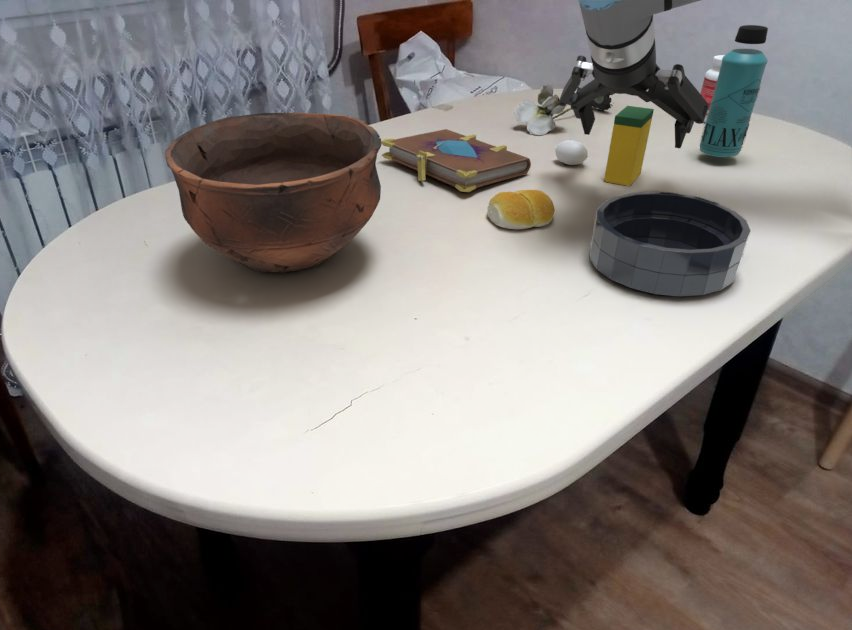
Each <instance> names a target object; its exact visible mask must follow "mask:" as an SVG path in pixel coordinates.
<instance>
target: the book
mask: <svg viewBox="0 0 852 630" xmlns="http://www.w3.org/2000/svg"><path fill="white" fill-rule="evenodd" d="M381 146H384V147H387V148H389V150H388V151H385V152H384V153H382V154H381V157H382V158H383V159H385V160H391V161H394V162H396V163H399V164H401V165H403V166H406V167H408V168H410V169H413V170H415V171H417V181H418V182H422V181H426V176H428V177H431V178H434V179H436V180H438V181H440V182H442V183H445V184H448V185H450V186H452V187H454V188H455V189H456V190H457V191H459V192H464V193H470V192H472V191H473V190H474V191H475V190H476V189H477V188H481V187H484V186H487V185H492V184H494V183H498V182H501V181H505V180H509V179H513V178H516V177H520V176H524V175H528V173H529V171H530V169H531V166H532V161H531V158H529V157H527V156H524V155H521V154H520V153H519V154H518V153H516V152H512V151H510V150H507V149H508V146H507V145H505V144H502V145H498V146H496V145H493V144H490V143H487V142H484V141H482V140H478V139H477V135H476V134H470V135H464V134H461V133H459V132H456V131H452V130H450V129H448V128H445V129H440V130H435V131H430V132H425V133H424V132H423V133H419V134H415V135H409V136H404V137H400V138H384V139H383V140H381Z"/></svg>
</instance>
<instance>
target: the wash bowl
mask: <svg viewBox="0 0 852 630" xmlns="http://www.w3.org/2000/svg"><path fill="white" fill-rule="evenodd" d="M592 229H593V231H592V236H591V242H590V247H589V261H590V262H591V263H592V265H593V266H594V268H595V269H596V270H597V271H598V272H600V273H601V274H602V275H604V276H605V277H607V278H608V279H609V280H611V281H612V282H615V283H618V284H620V285H622V286H624V287H627V288H629V289H633V290H637V291H641V292H645V293H648V294H652V295H659V296H668V297H669V296H670V297H694V296H696V297H697V296H704V295H709V294H711V293H716V292H720V291H722V290H724V289H725V288H727V287H728V286H730V285H732V284H733V283H734V281H735V279H736V276H737V274H738V272H739V268H740V265H741V262H742V259H743V257H744V252H745V249H746V247H747V243H748V240H749V237H750V234H751V228H750V226H749V223H748V221H747V219H745V218H744V217H743V216H741V215H740V214H739V213H738V212H737V211H735V210H733V209H731V208H730V207H727V206H725V205H723V204H721V203H719V202H716V201H713V200H709V199H706V198H703V197H700V196H696V195H688V194H684V193H679V192H668V191H666V192H665V191H637V192H629V193H625V194H619V195H615V196H613V197H611V198H608V199H607V200H605V201H603V202H602V203H601V204H600V205H599V207H598V208H597V209H596V211H595V218H594V224H593V228H592Z"/></svg>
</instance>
